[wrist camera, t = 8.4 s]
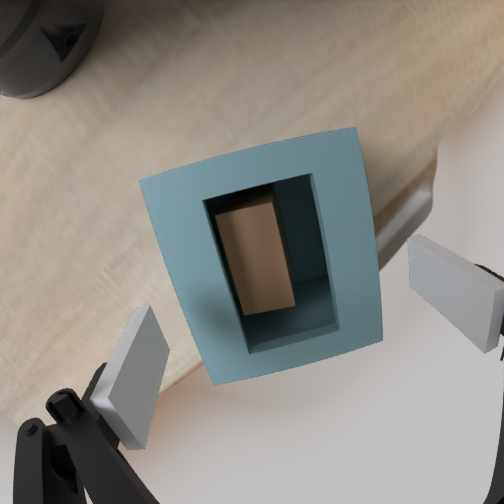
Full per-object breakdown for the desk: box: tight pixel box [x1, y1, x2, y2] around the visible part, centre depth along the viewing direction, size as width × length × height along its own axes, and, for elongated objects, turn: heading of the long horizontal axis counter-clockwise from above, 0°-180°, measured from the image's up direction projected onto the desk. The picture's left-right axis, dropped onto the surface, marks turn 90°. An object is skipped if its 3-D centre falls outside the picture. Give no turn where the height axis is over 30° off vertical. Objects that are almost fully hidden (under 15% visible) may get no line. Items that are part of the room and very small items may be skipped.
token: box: [215, 183, 295, 315], centre depth 24 cm, size 4×7×9 cm, turn 14°
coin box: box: [139, 127, 383, 385], centre depth 23 cm, size 12×14×12 cm
